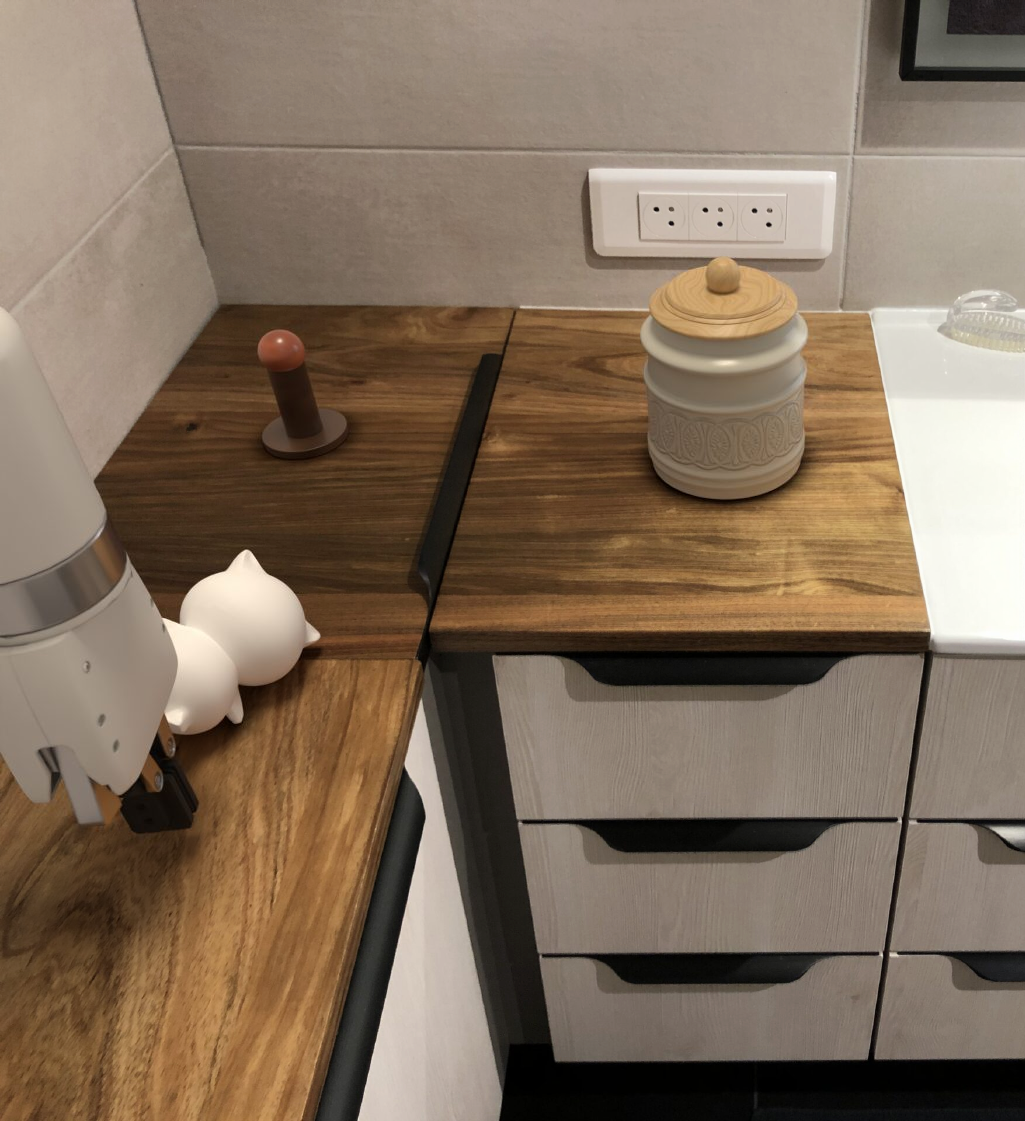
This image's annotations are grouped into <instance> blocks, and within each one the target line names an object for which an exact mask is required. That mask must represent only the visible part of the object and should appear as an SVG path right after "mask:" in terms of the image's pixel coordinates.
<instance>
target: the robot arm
mask: <svg viewBox="0 0 1025 1121" xmlns="http://www.w3.org/2000/svg"><path fill="white" fill-rule="evenodd" d="M50 387H51V386H50V384H49V383H48V380H47V378H46V377H45V373H44V372H43V370H42V368H41V365H40V363H39V362H38V359H37V356H36V354H35V352H34V351H33V348H32V346H31V344H30V342H29V340H28V338H27V336H26V335H25V333H24V330H23V329H22V327H21V326H20V324H19V323H18V322H17V321H16V319H15V318H14V317H13V315H12V314H10V313H9V311H7V310H6V309H5V308H4V307H2V306H0V754H1V756H2V759H3V760H4V761H5V764H6V765H7V768H8V769H9V771H10V772H11V774H12V776H13V778H14V779H15V781H16V783H17V784H18V786H19V787H20V789H21V791H22V792H23V793H24V795H25V796H26V797H27V799H28V800H30V801H31V802H32V803H34V804H35V805H41V804H50V803H52V801H53V799H54V796H55V795H56V792H57V790H58V787H59V785H60V783H61V781H62V782H63V785H64V787H65V790H66V793H67V796H68V798H69V801H70V805H71V806H72V809H73V812H74V815H75V818H76V820H77V823H78V825H79V827H81V828H83V829H84V828H91V827H101V826H102V827H103V826H109V825H111V824H112V822H114V820H115V818H116V816H117V815H118V813H119V812H120V813H121V815H122V817H123V818H124V820H125V822H126V823H127V825H128V827H129V829H130V831H131V832H133V833H134V834H138V835H142V834H144V835H145V834H156V833H157V834H158V833H162V832H171V831H172V832H173V831H179V830H187V829H188V830H189V829H191V828H192V826H193V823H194V820H195V816H194V814H195V813H196V812H197V810H198V808H199V805H200V801H199V799H198V797H197V795H196V793H195V791H194V789H193V786H192V785H191V783H190V781H189V779H188V777H187V775H186V772H185V771H184V769H183V767H182V765H181V763H180V761H179V759H178V758H173V757H174V756H175V754H176V745H177V744H176V740H175V737H174V735H173V734H174V733H172V732H171V729H170V726H169V724H168V721H167V718H166V716H165V713H164V711H165V708H166V706H167V703H168V700H169V697H170V694H171V691H172V689H173V686H174V682H175V679H176V675H177V669H178V658H177V654H176V650H175V647H174V645H173V642H172V639H171V637H170V634H169V632H168V630H167V628H166V625H165V623H164V621H163V619H162V618H163V617H162V616H161V613H160V610H159V609H158V607H157V605H156V604H155V601H154V599H153V598H152V596H151V594H150V592H149V591H148V589H147V587H146V585H145V584H144V582H143V580H142V578H141V577H140V575H139V573H138V572H137V570H136V569H135V567H134V565H133V564H132V561H131V559H130V557H129V555H128V552H127V551H126V549H125V546H124V545H123V542H122V541H121V538H120V536H119V534H118V532H117V530H116V527H115V525H114V523H113V521H112V519H111V517H110V514H109V512H108V510H107V508H106V506H105V504H104V502H103V499H102V497H101V495H100V493H99V490H98V489H97V488H96V484H95V482H94V480H93V477H92V475H91V473H90V471H89V469H88V466H87V465H86V462H85V460H84V458H83V456H82V454H81V452H80V449H79V447H78V445H77V443H76V441H75V439H74V437H73V434H72V432H71V430H70V428H69V426H68V423H67V421H66V420H65V416H64V414H63V413H62V411H61V409H60V406H59V404H58V402H57V399H56V398H55V396H54V394H53V392H52V389H51V388H50ZM171 758H172V759H171Z"/></svg>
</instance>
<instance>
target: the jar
mask: <svg viewBox="0 0 1025 1121" xmlns="http://www.w3.org/2000/svg"><path fill="white" fill-rule="evenodd" d="M798 308H799V301H798V297H797V295H796V293H795V292H794V291H793V289H792V288H791V287H790V286H789V285H787V284H785V283H784V282H782V281H780V280H778V279H777V278H774V277H773V276H772V275H770V274H769V273H767V272H765V271H763V270H761V269H757V268H755V267H750V266H746V265H739V264H738V263H737V262H736V261H735V260H734V259H732V258H731V257H728V256H718V257H716V258H713V259H712V260H711V261H710V262H709V263H708V265H704V266H700V267H699V266H698V267H695V268H692V269H688V270H686V271H684V272H682V273H680V274H678V275H677V276H675V277H674V278H672V280H669V281H667V282H666V283H664V284H662V285H661V286H659V288H657V289H656V291H654V292H653V293H652V295H651V297H650V299H649V303H648V310H649V315H648V316H647V317H646V319H644V321H643V323H642V325H641V327H640V331H639V340H640V344H641V346H642V348H643V349H644V351H645V352H646V353H647V359H646V360H645V362H644V365H643V370H642V377H643V381H644V384H645V391H646V404H647V418H648V420H647V421H648V430H647V449H648V454H649V456H650V459H651V460H652V466H653V468H654V470H655V473H656V474H657V475H658V477H660V478H661V480H662V481H663V482H665V483H666V484H668V485H669V486H671V487H672V488H674V489H676V490H678V491H680V492H682V493H685V494H688V495H692V496H695V497H698V498H703V499H704V498H705V499H712V500H739V499H746V498H747V499H748V498H751V497H755V496H760V495H762V494H763V495H764V494H766V493H768V492H770V491H773V490H775V489H777V488H779V487H781V486H782V485H784V484H786V483H787V482H789V480H790V479H791V478H793V477H794V475H795V474H796V473H797V471H798V469H799V467H800V466H801V461H802V457H803V454H804V451H805V447H806V446H805V445H806V443H805V440H806V431H805V427H804V411H805V410H804V409H805V407H804V406H805V381H806V378H807V374H808V368H807V363H806V361H805V358H804V357H803V355H802V350H803V349H804V347H805V346H806V344H807V342H808V338H809V328H808V324H807V322H806V321H805V319H804V318H803V316H802V315H801V314H800V313H799V312H798Z"/></svg>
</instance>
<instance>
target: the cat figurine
mask: <svg viewBox="0 0 1025 1121" xmlns="http://www.w3.org/2000/svg"><path fill="white" fill-rule="evenodd" d="M179 611H180V612H179V623H178V622H175V621H173V620H170V619H168V618H163V617H162V619H163V621H164V623H165V625H166V628H167V630H168V632H169V634H170V637H171V639H172V642H173V645H174V647H175V650H176V654H177V658H178V669H177V675H176V679H175V682H174V686H173V689H172V691H171V694H170V697H169V700H168V703H167V706H166V708H165V711H164V713H165V716H166V718H167V721H168V724H169V726H170V729H171V732H172V734H176V735H184V736H185V735H186V736H187V735H195V734H196V735H197V734H202V733H204V732H207V731H209V730H212V729H213V728H215V727H216V726H217V725H219V724H220V722H222V721H223V719H224V718H225V716H226V717H227V719H228V720H229V721H231V722H232V723H233V725H237V724H241V723H242V721H243V718H244V709H243V701H242V698H241V694H240V690H239V685H240V686H246V687H258V686H259V687H260V686H266V685H268V684H272V683H274V682H276V681H279V680H280V679H282V678H283V677H285V676H286V675H287V674H288V673H289V672H290V671H291V670H293V668H294V666H295V665H296V664H297V662H298V661H299V659H300V657H301V654H302V652H303V649H304V648H307V647H309V646H312V645H313V644H315V643H316V642H318V641H319V640H320V639H321V633H320V632H319V631H318V630H317V629H316V628H315V627H314V626H313V625H311V623H309V622H308V621H307V620H306V617H305V612H304V609H303V606H302V603H301V602H300V600H299V598H298V596H297V595H296V593H294V591H293V590H292V589H291V588H290V587H289V586H288V585H287V584H286V583H284V582H283V581H282V580H280V579H279V578H277V577H275V576H272V575H270V574H269V573H267V572H266V571H265V570H264V569H263V567H262V566H261V564H260V563H259V561H258V559H256V557H255V555H254V554H253V553H252V551H251V550H249V549H244V550H242V551H241V552H240V553H239V554H238V555H237V556H236V557H235V558H234V559H233V561H232V562H231V563H230V565H229V566H228V568H227V569H226V570H224V571H221V572H218V573H217V572H216V573H214V574H211V575H209V576H207V577H205V578H203V579H201V580H200V581H198V582H197V583H196V584H194V585H193V586H192V587H191V588H190V589H189V591H188V592H187V594H186V595H185V596H184V598H183V600H182V603H181V607H180V610H179Z"/></svg>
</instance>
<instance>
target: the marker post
mask: <svg viewBox="0 0 1025 1121" xmlns="http://www.w3.org/2000/svg"><path fill="white" fill-rule="evenodd" d="M257 356H258V360H259V361H260V363H261V364H262V366H263V367H264V368H265V369H266V372H267V375H268V379H269V382H270V385H271V388H272V391H273V395H274V399H275V401H276V404H277V408H278V410H279V413H280V416H278V417H277V418H275V419H274V420H272V421H271V422H269V423H268V424H267V425H266V426H265V428H264V429H263V431H262V434H261V441H262V443H263V446H264V449H265V450H266V451H267V453H269V455H272V456H274V457H276V458H279V459H283V460H307V459H311V458H316V457H319V456H322V455H324V454H327V453H330V452H331V451H333V450H334V449H337V448H338V447H339V446H340V445H342V444H343V443H344V442H345V441H346V440H347V438H348V435H349V433H350V429H349V425H348V421H347V419H346V417H345V415H343V414H342V413H341V412H339V411H337V410H334V409H331V408H325V407H318V404H317V401H316V397H315V393H314V390H313V386H312V382H311V379H310V376H309V372H308V369H307V366H306V362H305V360H306V348H305V345H304V343H303V341H302V340H301V338H300V337H299V336H297V334H296V333H293V332H291V331H289V330H286V329H273V330H271V331H268V332H267V333H265V334H264V335H263V336H262V337H261V339H260V340H259V342H258V346H257Z"/></svg>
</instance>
